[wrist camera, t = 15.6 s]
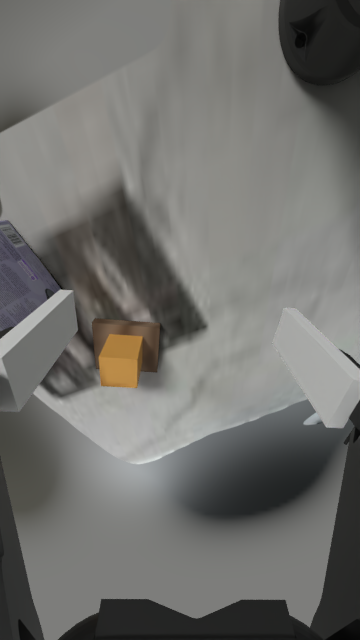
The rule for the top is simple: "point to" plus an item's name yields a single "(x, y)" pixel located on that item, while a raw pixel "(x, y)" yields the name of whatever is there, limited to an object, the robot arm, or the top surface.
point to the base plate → (133, 329)
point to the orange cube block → (121, 361)
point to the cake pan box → (21, 278)
